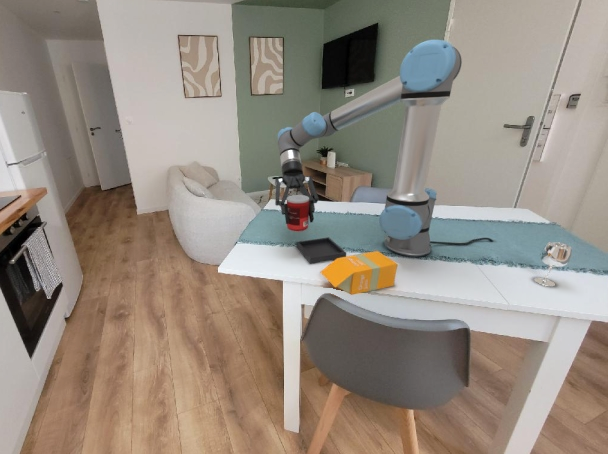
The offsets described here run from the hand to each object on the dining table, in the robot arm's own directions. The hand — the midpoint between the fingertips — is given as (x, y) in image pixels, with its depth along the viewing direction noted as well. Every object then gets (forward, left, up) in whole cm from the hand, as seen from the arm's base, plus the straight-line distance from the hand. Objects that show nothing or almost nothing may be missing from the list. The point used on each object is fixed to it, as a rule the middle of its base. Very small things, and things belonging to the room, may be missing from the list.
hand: (299, 221), depth 99 cm
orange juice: (-21, +20, -11) cm, 30 cm away
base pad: (-9, -2, -14) cm, 17 cm away
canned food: (-1, -3, -4) cm, 5 cm away
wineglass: (-63, +34, -15) cm, 73 cm away
